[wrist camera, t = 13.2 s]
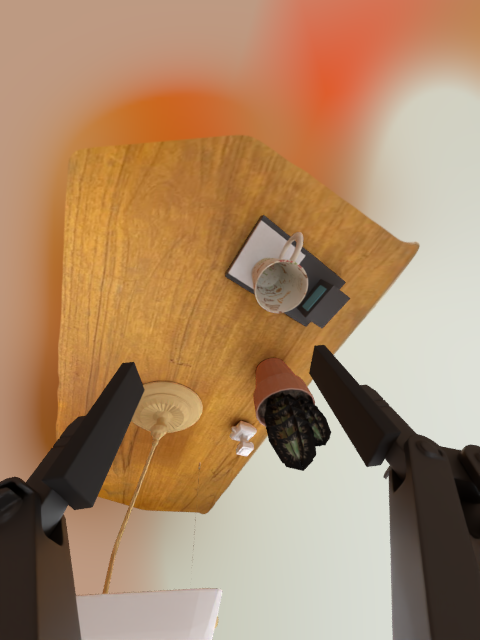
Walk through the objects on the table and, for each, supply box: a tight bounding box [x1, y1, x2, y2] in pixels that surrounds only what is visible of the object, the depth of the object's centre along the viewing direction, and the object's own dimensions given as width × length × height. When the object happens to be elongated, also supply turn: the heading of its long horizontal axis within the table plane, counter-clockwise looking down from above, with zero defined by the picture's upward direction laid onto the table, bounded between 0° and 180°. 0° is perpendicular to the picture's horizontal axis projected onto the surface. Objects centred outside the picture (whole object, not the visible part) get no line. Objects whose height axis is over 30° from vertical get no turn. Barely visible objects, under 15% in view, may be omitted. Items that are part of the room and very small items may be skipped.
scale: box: [225, 215, 350, 328], centre depth 37 cm, size 23×13×7 cm, turn 56°
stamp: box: [230, 421, 257, 456], centre depth 60 cm, size 9×7×8 cm
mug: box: [252, 232, 308, 313], centre depth 31 cm, size 8×13×10 cm, turn 157°
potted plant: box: [253, 358, 331, 471], centre depth 42 cm, size 14×14×25 cm
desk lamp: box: [76, 381, 223, 640], centre depth 38 cm, size 31×23×40 cm
